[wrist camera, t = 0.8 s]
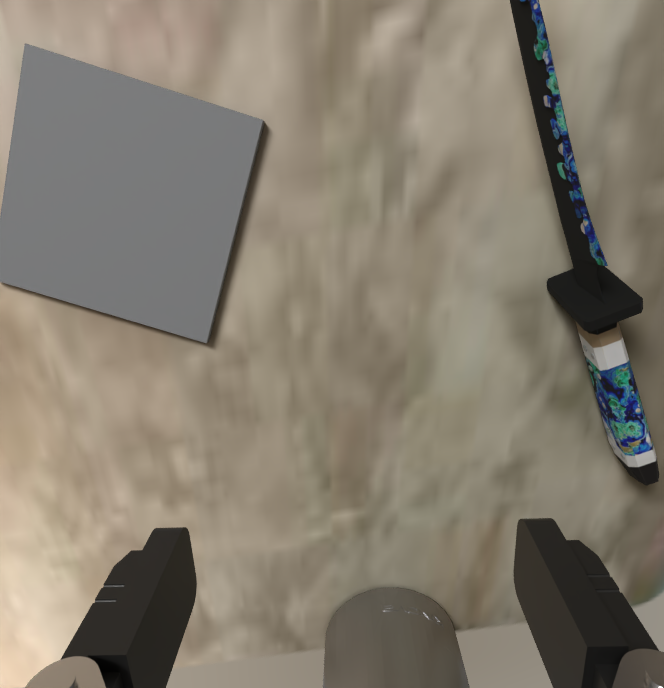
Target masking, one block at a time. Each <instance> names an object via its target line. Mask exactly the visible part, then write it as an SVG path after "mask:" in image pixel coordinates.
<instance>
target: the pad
mask: <svg viewBox="0 0 664 688" xmlns="http://www.w3.org/2000/svg"><path fill="white" fill-rule="evenodd" d="M263 126H264V121H263V120H261V119H258V118H255V117H252V116H249V115H246V114H243V113H240V112H236V111H233V110H230V109H227V108H224V107H221V106H218V105H215V104H212V103H209V102H205V101H202V100H199V99H196V98H193V97H190V96H187V95H184V94H181V93H178V92H174V91H171V90H168V89H165V88H162V87H159V86H156V85H153V84H150V83H147V82H143V81H140V80H137V79H134V78H131V77H128V76H125V75H122V74H119V73H116V72H112V71H109V70H106V69H103V68H100V67H97V66H94V65H91V64H88V63H85V62H81V61H78V60H75V59H72V58H69V57H66V56H63V55H60V54H57V53H54V52H50V51H47V50H44V49H41V48H38V47H35V46H32V45H29V44H26V43H25V46H24V53H23V60H22V67H21V75H20V82H19V89H18V96H17V103H16V110H15V117H14V124H13V131H12V138H11V145H10V152H9V159H8V166H7V174H6V181H5V188H4V195H3V202H2V209H1V216H0V282H2V283H6V284H9V285H12V286H16V287H19V288H23V289H26V290H29V291H33V292H36V293H39V294H43V295H46V296H49V297H53V298H56V299H59V300H63V301H66V302H70V303H73V304H76V305H80V306H83V307H86V308H90V309H93V310H96V311H100V312H103V313H107V314H110V315H113V316H117V317H120V318H123V319H127V320H130V321H133V322H137V323H140V324H143V325H147V326H150V327H154V328H157V329H160V330H164V331H167V332H170V333H174V334H177V335H180V336H184V337H187V338H190V339H194V340H197V341H201V342H204V343H207V342H208V341H209V339H210V335H211V331H212V327H213V323H214V319H215V315H216V311H217V307H218V303H219V299H220V295H221V291H222V287H223V284H224V280H225V276H226V272H227V268H228V264H229V260H230V256H231V252H232V248H233V244H234V240H235V236H236V232H237V228H238V224H239V221H240V217H241V213H242V209H243V205H244V201H245V197H246V193H247V189H248V185H249V181H250V177H251V173H252V169H253V165H254V162H255V158H256V154H257V150H258V146H259V142H260V138H261V134H262V130H263Z"/></svg>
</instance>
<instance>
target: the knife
mask: <svg viewBox="0 0 664 688" xmlns="http://www.w3.org/2000/svg"><path fill="white" fill-rule="evenodd" d="M510 4H511V9H512V14H513V18H514V23H515V28H516V32H517V37H518V42H519V46H520V51H521V56H522V60H523V65H524V70H525V74H526V79H527V83H528V87H529V92H530V96H531V100H532V105H533V109H534V114H535V118H536V122H537V127H538V131H539V135H540V139H541V143H542V147H543V151H544V155H545V159H546V163H547V167H548V171H549V175H550V179H551V183H552V187H553V191H554V195H555V199H556V204H557V208H558V212H559V216H560V219H561V223H562V227H563V230H564V234H565V237H566V241H567V245H568V248H569V252H570V255H571V259H572V263H573V267H574V269H572V270H569V271H567V272H564V273H562V274H559V275H556V276H554V277H551V278H549V279H548V281H547V290H548V291H549V292H550V293H551V294H552V295H553V296H554V298H555V299H556V300H557V301H558V302H559V303H560V304H561V305H562V306H563V308H564V309H565V310H566V311H567V312H568V313H569V314H570V315H571V316H572V318H573V319H574V320H575V322H576V326H577V329H578V333H579V336H580V340H581V343H582V347H583V351H584V354H585V358H586V361H587V365H588V368H589V372H590V376H591V379H592V383H593V386H594V390H595V393H596V397H597V401H598V404H599V408H600V411H601V415H602V418H603V422H604V426H605V429H606V433H607V436H608V440H609V442H610V445H611V447H612V449H613V451H614V453H615V454H616V456H617V457H618V459H619V460H620V462H621V463H622V464H623V466H624V467H625V469H626V470H627V472H628V473H629V474H630V475H631V476H632V477H634V478H635V479H636V480H638V481H639V482H641V483H643V484H645V485H649V484H652V483H655V482H658V479H659V471H658V464H657V457H656V453H655V449H654V446H653V442H652V439H651V435H650V432H649V428H648V425H647V421H646V418H645V414H644V411H643V407H642V403H641V400H640V396H639V393H638V389H637V386H636V382H635V379H634V375H633V372H632V368H631V365H630V361H629V358H628V354H627V351H626V347H625V344H624V340H623V337H622V333H621V330H620V326H619V323H618V321H621V320H623V319H626V318H629V317H631V316H634V315H637V314H639V313H641V312H642V310H643V298H642V297H640V296H639V295H638V294H637V293H636V292H634V291H633V290H632V289H631V288H630V287H629V286H627V285H626V284H625V283H624V282H623V281H621V280H620V279H619V278H618V277H617V276H616V275H614V274H613V273H612V272H611V271H610V270H608V269H607V268H606V267H605V266H608V265H607V262H606V260H605V257H604V255H603V252H602V250H601V247H600V245H599V242H598V239H597V236H596V234H595V231H594V228H593V225H592V222H591V219H590V216H589V213H588V210H587V207H586V203H585V200H584V196H583V192H582V189H581V185H580V181H579V177H578V173H577V168H576V164H575V160H574V156H573V151H572V147H571V143H570V138H569V134H568V129H567V125H566V120H565V115H564V111H563V106H562V101H561V97H560V92H559V87H558V82H557V78H556V73H555V68H554V64H553V59H552V55H551V50H550V46H549V41H548V37H547V33H546V28H545V24H544V20H543V16H542V12H541V8H540V4H539V0H510Z"/></svg>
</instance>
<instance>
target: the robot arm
mask: <svg viewBox="0 0 664 688" xmlns="http://www.w3.org/2000/svg"><path fill="white" fill-rule="evenodd" d="M514 583H515V589H516V594H517V597H518V600H519V603H520V605H521V608H522V610H523V613H524V615H525V618H526V620H527V623H528V625H529V627H530V630H531V632H532V635H533V638H534V640H535V643H536V645H537V648H538V650H539V652H540V655H541V658H542V660H543V663H544V665H545V668H546V670H547V673H548V675H549V678H550V680H551V683H552V685H553V688H664V652H661V651H659V650H658V648H657V647H656V645H655V644H654V642H653V641H652V639H651V637H650V636H649V634H648V633H647V631H646V630H645V628H644V627H643V625H642V623H641V622H640V620H639V619H638V617H637V616H636V614H635V613H634V611H633V609H632V608H631V606H630V605H629V603H628V602H627V600H626V599H625V597H624V595H623V594H622V593H620V591H619V588H618V586H617V585H616V583H615V582H614V580H613V578H612V577H610V575H609V572H608V571H607V569H606V568H605V566H604V564H603V563H602V561H601V560H600V558H599V557H598V555H596V554H595V553H594V552H593V551H591V550H590V549H589V548H588V547H587V546H585V545H584V544H583V543H582V542H580V541H579V540H566V539H565V537H564V535H563V534H562V532H561V530H560V529H559V527H558V525H557V524H556V522H555V521H554V520H553V519H552V518H539V519H520V520H519V521H518V525H517V536H516V548H515V560H514ZM196 586H197V582H196V573H195V566H194V560H193V554H192V548H191V541H190V535H189V531H188V529H187V528H186V527H183V528H155V529H154V530H153V531H152V533H151V535H150V537H149V539H148V541H147V543H146V545H145V546H144V548H143V550H139V551H130V552H129V553H128V554H127V555H126V556H125V557H124V558H123V559H122V560H121V561H119V562H118V563H117V564H116V565H115V566H114V567H113V569H112V571H111V573H110V574H109V576H108V578H107V580H106V581H105V583H104V587H103V588H101V590H100V592H99V593H98V595H97V597H96V599H95V603H93V604H92V606H91V607H90V609H89V611H88V613H87V614H86V616H85V618H84V620H83V621H82V623H81V625H80V627H79V628H78V630H77V632H76V634H75V635H74V637H73V639H72V641H71V642H70V644H69V646H68V648H67V649H66V651H65V653H64V655H63V656H62V658H61V660H59V661H57V662H54V663H52V664H51V665H49V666H47V667H46V668H44V669H43V670H41V671H40V672H39V673H38V674H37V675H35V676H34V677H33V678H32V679H31V680H30V682H29V683H28V684H27V685H26V687H25V688H166V685H167V682H168V679H169V676H170V673H171V671H172V668H173V665H174V662H175V659H176V656H177V653H178V650H179V647H180V644H181V641H182V638H183V635H184V633H185V630H186V627H187V624H188V621H189V618H190V615H191V612H192V609H193V606H194V602H195V597H196ZM323 688H469V684H468V679H467V676H466V672H465V668H464V664H463V661H462V657H461V653H460V649H459V645H458V641H457V638H456V634H455V631H454V628H453V625H452V622H451V620H450V618H449V617H448V615H447V614H446V612H445V611H444V610H443V609H442V608H441V607H440V606H439V605H438V604H437V603H436V602H435V601H433V600H431V599H430V598H428V597H427V596H425V595H423V594H420V593H417V592H415V591H412V590H407V589H402V588H380V589H375V590H370V591H367V592H364V593H362V594H359V595H357V596H355V597H354V598H352V599H350V600H349V601H347V602H346V603H345V604H344V605H343V606H342V607H340V608H339V609H338V610H337V611H336V613H335V614H334V616H333V618H332V619H331V621H330V623H329V626H328V628H327V631H326V639H325V657H324V679H323Z"/></svg>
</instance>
